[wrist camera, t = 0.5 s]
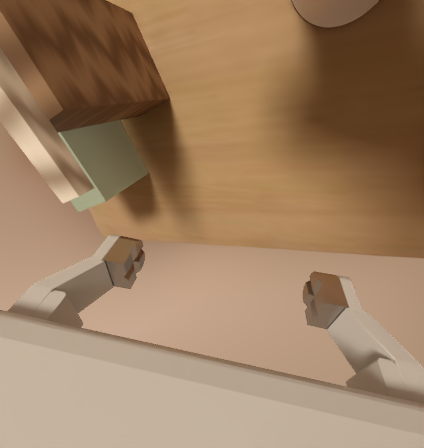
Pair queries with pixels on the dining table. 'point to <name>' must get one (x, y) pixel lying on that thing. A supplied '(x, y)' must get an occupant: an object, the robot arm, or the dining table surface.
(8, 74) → the baton
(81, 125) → the brown wooden block
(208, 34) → the dining table surface
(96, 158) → the box
